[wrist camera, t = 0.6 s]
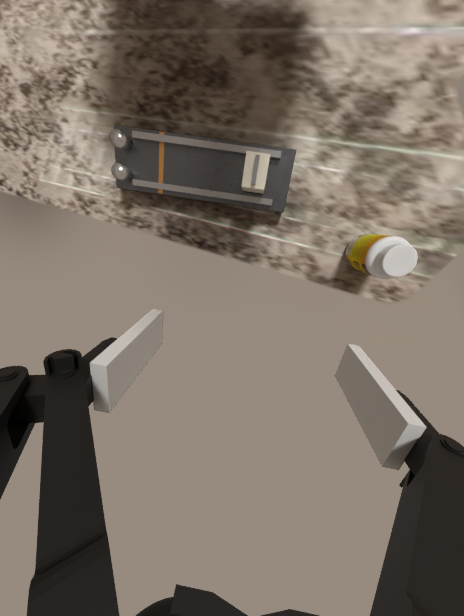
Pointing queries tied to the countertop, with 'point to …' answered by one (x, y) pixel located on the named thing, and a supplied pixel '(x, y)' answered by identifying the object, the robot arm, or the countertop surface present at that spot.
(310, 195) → the countertop surface
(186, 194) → the console
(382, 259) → the supplement bottle
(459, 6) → the countertop surface
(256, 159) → the fader tab
